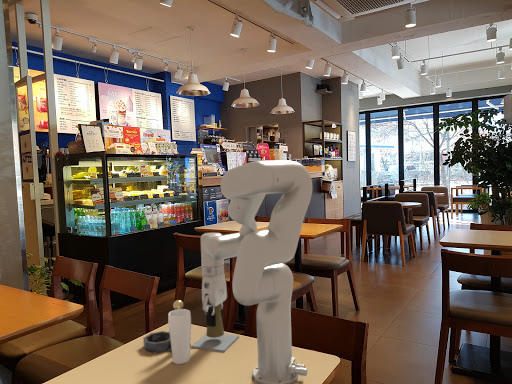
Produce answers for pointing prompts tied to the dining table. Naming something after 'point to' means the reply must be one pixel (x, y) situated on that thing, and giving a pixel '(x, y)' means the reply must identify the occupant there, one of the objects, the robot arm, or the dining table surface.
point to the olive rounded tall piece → (218, 329)
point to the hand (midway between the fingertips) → (214, 322)
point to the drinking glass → (180, 335)
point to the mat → (215, 342)
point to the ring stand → (160, 337)
